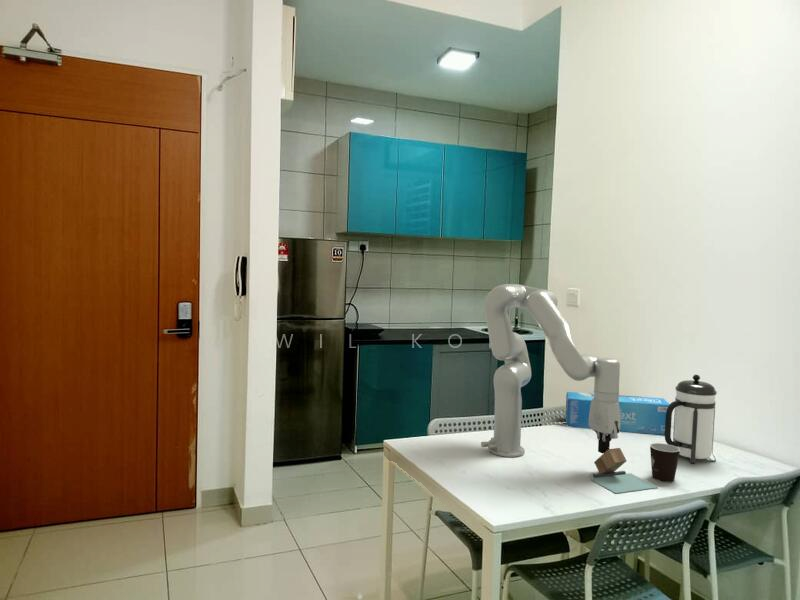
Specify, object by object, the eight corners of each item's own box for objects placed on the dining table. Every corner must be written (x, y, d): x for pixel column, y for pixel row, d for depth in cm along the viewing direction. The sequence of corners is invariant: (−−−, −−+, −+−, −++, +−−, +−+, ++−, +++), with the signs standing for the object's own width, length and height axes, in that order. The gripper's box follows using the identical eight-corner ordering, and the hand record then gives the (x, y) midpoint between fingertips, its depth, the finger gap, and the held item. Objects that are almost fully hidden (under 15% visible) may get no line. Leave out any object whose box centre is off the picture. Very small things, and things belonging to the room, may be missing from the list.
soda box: (662, 427, 234) (664, 397, 233) (670, 436, 220) (672, 405, 220) (564, 418, 243) (566, 390, 243) (566, 427, 230) (567, 396, 229)
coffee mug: (676, 485, 168) (678, 453, 168) (646, 479, 173) (648, 448, 172) (680, 474, 178) (682, 444, 178) (651, 468, 183) (653, 439, 182)
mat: (615, 493, 161) (615, 492, 161) (589, 479, 172) (589, 478, 172) (658, 488, 166) (658, 487, 166) (630, 474, 177) (630, 473, 177)
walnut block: (600, 475, 176) (615, 462, 169) (594, 462, 178) (608, 449, 172) (611, 473, 177) (626, 461, 171) (605, 460, 180) (619, 447, 174)
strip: (595, 478, 172) (595, 475, 172) (592, 477, 173) (593, 474, 173) (625, 474, 176) (625, 471, 176) (623, 473, 177) (623, 470, 177)
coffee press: (666, 447, 205) (671, 368, 204) (715, 456, 197) (720, 373, 196) (662, 461, 190) (667, 376, 188) (715, 471, 182) (721, 382, 181)
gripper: (581, 392, 182) (579, 446, 183) (613, 402, 168) (610, 461, 169) (599, 390, 185) (597, 444, 186) (632, 401, 171) (629, 458, 172)
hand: (603, 452), depth 178 cm, fingers closed
